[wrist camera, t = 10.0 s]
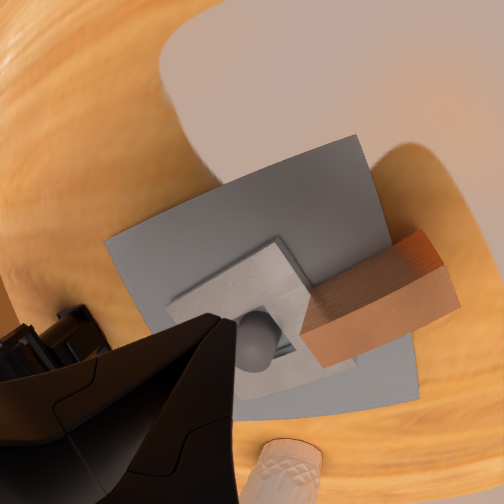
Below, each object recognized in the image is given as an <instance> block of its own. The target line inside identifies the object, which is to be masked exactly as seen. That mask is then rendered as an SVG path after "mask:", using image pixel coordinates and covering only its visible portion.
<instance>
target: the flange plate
mask: <svg viewBox="0 0 504 504" xmlns="http://www.w3.org/2000/svg"><path fill="white" fill-rule="evenodd" d="M262 305H263V306H264V307H265V308H266V310H267V311H268V312H269V314H270V315H271V317H272V318H273V319H274V321H275V322H276V323H277V325H278V326H279V327H280V329H281V330H282V331H283V333H284V334H285V336H286V337H287V338H288V340H289V341H290V342H291V344H292V345H290V346H287V347H285V348H282V349H279V350H277V351H275V353H274V356H273V359H272V361H271V364H270V366H269V367H268V368H267V369H266V370H264V371H262V372H258V373H250V372H246V371H243V370H240V369H239V368H237V367H236V366H235V382H234V392H235V393H236V394H237V395H238V396H239V397H240V398H241V399H242V401H247V400H251V399H255V398H259V397H262V396H266V395H270V394H273V393H277V392H280V391H284V390H287V389H291V388H294V387H297V386H300V385H303V384H307V383H310V382H313V381H316V380H319V379H322V378H325V377H328V376H331V375H333V374H336V373H339V372H342V371H344V370H347V369H350V368H353V367H355V366H357V356H358V355H360V354H363V353H365V352H368V351H370V350H373V349H375V348H377V347H380V346H382V345H384V344H387V343H389V342H391V341H393V340H396V339H398V338H400V337H402V336H404V335H406V334H409V333H411V332H413V331H415V330H417V329H419V328H421V327H423V326H425V325H427V324H429V323H431V322H433V321H435V320H437V319H439V318H441V317H443V316H445V315H447V314H449V313H450V312H452V311H454V310H456V309H458V308H460V307H461V306H460V303H459V300H458V297H457V295H456V292H455V289H454V287H453V284H452V281H451V279H450V276H449V274H448V271H447V269H446V266H445V264H444V263H443V261H442V259H441V258H440V256H439V255H438V253H437V251H436V250H435V248H434V247H433V245H432V244H431V242H430V241H429V239H428V238H427V236H426V235H425V233H424V232H423V230H422V229H420V230H419V231H417V232H415V233H414V234H412V235H410V236H408V237H406V238H405V239H403V240H401V241H399V242H398V243H396V244H394V245H392V246H390V247H389V248H387V249H385V250H383V251H381V252H380V253H378V254H376V255H374V256H372V257H370V258H368V259H367V260H365V261H363V262H361V263H359V264H357V265H355V266H353V267H352V268H350V269H348V270H346V271H344V272H342V273H340V274H338V275H336V276H334V277H332V278H330V279H328V280H326V281H325V282H323V283H321V284H319V285H317V286H315V287H312V285H311V284H310V282H309V281H308V279H307V278H306V276H305V275H304V273H303V272H302V270H301V269H300V267H299V266H298V264H297V263H296V261H295V260H294V258H293V257H292V256H291V254H290V253H289V251H288V250H287V248H286V247H285V245H284V244H283V242H282V241H281V239H280V238H279V237H277V238H275V239H274V240H272V241H270V242H269V243H267V244H265V245H264V246H262V247H260V248H259V249H257V250H255V251H254V252H252V253H250V254H249V255H247V256H245V257H244V258H242V259H240V260H239V261H237V262H236V263H234V264H232V265H231V266H229V267H227V268H226V269H224V270H222V271H221V272H219V273H217V274H216V275H214V276H212V277H211V278H209V279H207V280H206V281H204V282H202V283H201V284H199V285H197V286H196V287H194V288H192V289H191V290H189V291H187V292H186V293H184V294H182V295H181V296H179V297H177V298H176V299H174V300H172V301H171V302H170V303H169V304H168V305H167V306H166V307H165V310H166V311H167V312H168V314H169V315H170V316H171V317H172V319H173V320H174V321H175V323H176V324H177V325H178V324H180V323H182V322H185V321H187V320H190V319H192V318H195V317H197V316H199V315H202V314H204V313H212V314H215V315H218V316H221V318H227V319H230V320H232V319H234V318H237V317H239V316H241V315H243V314H245V313H247V312H249V311H251V310H253V309H255V308H257V307H260V306H262Z"/></svg>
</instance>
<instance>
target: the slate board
mask: <svg viewBox="0 0 504 504" xmlns="http://www.w3.org/2000/svg"><path fill="white" fill-rule="evenodd" d="M277 237H279V238H280V239H281V241H282V242H283V244H284V245H285V247H286V248H287V250H288V251H289V253H290V254H291V256H292V257H293V258H294V260H295V261H296V263H297V264H298V266H299V267H300V269H301V270H302V272H303V273H304V275H305V276H306V278H307V279H308V281H309V282H310V284H311V285H312V287H315V286H317V285H319V284H321V283H323V282H325V281H326V280H328V279H330V278H332V277H334V276H336V275H338V274H340V273H342V272H344V271H346V270H348V269H350V268H352V267H353V266H355V265H357V264H359V263H361V262H363V261H365V260H367V259H368V258H370V257H372V256H374V255H376V254H378V253H380V252H381V251H383V250H385V249H387V248H389V247H390V246H392V241H391V238H390V234H389V230H388V227H387V223H386V220H385V216H384V213H383V210H382V206H381V203H380V200H379V197H378V194H377V191H376V188H375V185H374V182H373V179H372V176H371V173H370V170H369V167H368V164H367V162H366V159H365V156H364V153H363V151H362V148H361V145H360V143H359V140H358V138H357V135H356V134H355V135H352V136H349V137H346V138H344V139H341V140H338V141H335V142H332V143H329V144H327V145H324V146H321V147H318V148H315V149H313V150H310V151H307V152H304V153H302V154H299V155H297V156H294V157H291V158H288V159H286V160H283V161H281V162H278V163H276V164H273V165H271V166H268V167H266V168H263V169H261V170H258V171H255V172H253V173H251V174H248V175H246V176H243V177H241V178H238V179H236V180H234V181H231V182H229V183H227V184H224V185H222V186H220V187H217V188H215V189H213V190H210V191H208V192H206V193H204V194H201V195H199V196H197V197H195V198H192V199H190V200H188V201H186V202H184V203H181V204H179V205H177V206H175V207H173V208H171V209H168V210H166V211H164V212H162V213H160V214H158V215H156V216H154V217H152V218H149V219H147V220H145V221H143V222H141V223H139V224H137V225H135V226H133V227H131V228H129V229H127V230H125V231H123V232H121V233H119V234H117V235H115V236H113V237H111V238H109V239H108V240H106V241H104V244H105V246H106V248H107V250H108V252H109V254H110V256H111V258H112V260H113V262H114V264H115V266H116V268H117V270H118V272H119V274H120V276H121V278H122V280H123V282H124V284H125V286H126V288H127V290H128V292H129V294H130V295H131V297H132V299H133V301H134V303H135V305H136V306H137V308H138V310H139V312H140V314H141V315H142V317H143V319H144V321H145V322H146V324H147V326H148V328H149V329H150V331H151V333H152V334H155V333H158V332H160V331H163V330H165V329H168V328H170V327H173V326H175V325H177V324H176V323H175V321H174V320H173V319H172V317H171V316H170V315H169V314H168V312H167V311H166V310H165V307H166V306H167V305H168V304H169V303H170V302H171V301H172V300H174V299H176V298H177V297H179V296H181V295H182V294H184V293H186V292H187V291H189V290H191V289H192V288H194V287H196V286H197V285H199V284H201V283H202V282H204V281H206V280H207V279H209V278H211V277H212V276H214V275H216V274H217V273H219V272H221V271H222V270H224V269H226V268H227V267H229V266H231V265H232V264H234V263H236V262H237V261H239V260H240V259H242V258H244V257H245V256H247V255H249V254H250V253H252V252H254V251H255V250H257V249H259V248H260V247H262V246H264V245H265V244H267V243H269V242H270V241H272V240H274V239H275V238H277ZM232 320H234V321H236V322H237V343H236V362H235V366H236V367H237V368H239V369H240V370H243V371H246V372H250V373H258V372H262V371H264V370H266V369H267V368H268V367H269V366H270V364H271V361H272V359H273V356H274V353H275V351H277V350H279V349H282V348H285V347H287V346H290V345H292V344H291V342H290V341H289V340H288V338H287V337H286V336H285V334H284V333H283V331H282V330H281V329H280V327H279V326H278V325H277V323H276V322H275V321H274V319H273V318H272V317H271V315H270V314H269V312H268V311H267V310H266V308H265V307H264V306H263V305H262V306H260V307H257V308H255V309H253V310H251V311H249V312H247V313H245V314H243V315H241V316H239V317H237V318H234V319H232ZM417 399H420V398H419V387H418V378H417V369H416V361H415V354H414V347H413V340H412V334H411V333H409V334H406V335H404V336H402V337H400V338H398V339H396V340H393V341H391V342H389V343H387V344H384V345H382V346H380V347H377V348H375V349H373V350H370V351H368V352H365V353H363V354H360V355H358V356H357V366H355V367H353V368H350V369H347V370H344V371H342V372H339V373H336V374H333V375H331V376H328V377H325V378H322V379H319V380H316V381H313V382H310V383H307V384H303V385H300V386H297V387H294V388H291V389H287V390H284V391H280V392H277V393H273V394H270V395H266V396H262V397H259V398H255V399H251V400H247V401H242V399H241V398H240V397H239V396H238V395H237V394H236V393H235V392H234V403H233V417H232V418H233V421H261V420H282V419H296V418H308V417H318V416H327V415H335V414H343V413H350V412H356V411H363V410H369V409H374V408H380V407H385V406H390V405H395V404H400V403H404V402H409V401H413V400H417Z"/></svg>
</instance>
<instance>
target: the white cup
mask: <svg viewBox="0 0 504 504" xmlns="http://www.w3.org/2000/svg"><path fill="white" fill-rule="evenodd" d="M322 460H323V459H322V455H321V452H320V451H319V450H318V449H317V448H315V447H314V446H313V445H310V444H308V443H305V442H303V441H299V440H292V439H277V440H272V441H270V442H268V443H266V444H265V445H264V447H263V449H262V452H261V454H260V456H259V459H258V460H257V462H256V464H255V465H254V466H253V469H252V471H251V473H250V474H249V477H248V479H247V481H246V483H245V484H244V486H243V489H242V491H241V493H240V495H239V497H238V498H239V504H316V503H317V498H318V489H319V484H320V472H321V466H322Z"/></svg>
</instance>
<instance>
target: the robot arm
mask: <svg viewBox="0 0 504 504" xmlns="http://www.w3.org/2000/svg"><path fill="white" fill-rule="evenodd" d="M57 317H58V319H59V321H57V322H56V323H55V324H53V325H52V326H51V327H50V328H48V329H47V330H46V331H44V332H43V333H42V334H40V335H39V336H38V335H37V333H36V332H35V330H34V327H33V326H32V325H30V326H29V327H28V326H27V325H26V324H24V323H23V324H22V325H20V326H19V327H18V328H16V329H15V330H13V331H12V332H10V333H9V334H7V335H6V336H4V337H2V338H1V339H0V504H239V498H238V492H237V485H236V479H235V472H234V462H233V452H232V428H233V418H232V417H233V403H234V382H235V362H236V343H237V322H236V321H234V320H230V319H227V318H221V316H218V315H215V314H212V313H204V314H202V315H199V316H197V317H195V318H192V319H190V320H187V321H185V322H182V323H180V324H178V325H175V326H173V327H170V328H168V329H165V330H163V331H160V332H158V333H155V334H153V335H150V336H148V337H145V338H143V339H140V340H138V341H135V342H132V343H130V344H127V345H125V346H122V347H120V348H117V349H114V350H112V351H111V349H110V347H109V346H108V344H107V343H106V341H105V339H104V338H103V336H102V335H101V333H100V331H99V330H98V328H97V326H96V324H95V323H94V321H93V319H92V318H91V316H90V314H89V312H88V311H87V309H86V307H85V306H84V305H79V306H76V307H72V308H69V309H66V310H63V311H59V312H58V313H57ZM20 341H21V342H20Z"/></svg>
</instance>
